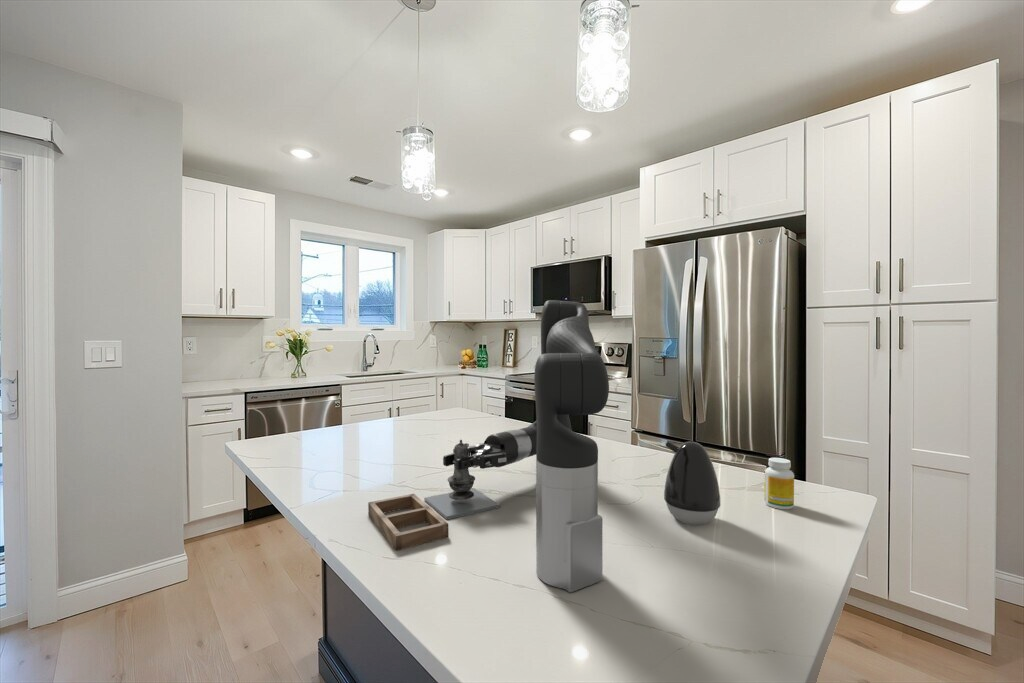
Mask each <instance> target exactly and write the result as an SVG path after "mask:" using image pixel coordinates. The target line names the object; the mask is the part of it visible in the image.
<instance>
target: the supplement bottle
mask: <svg viewBox="0 0 1024 683" xmlns="http://www.w3.org/2000/svg"><path fill="white" fill-rule="evenodd" d="M791 465H792V464H791V460H790V459H786V458H783V457H770V458H769V457H768V466H769V467H767V468H765V469H764V490H763V492H764V493H763V494H764V495H763V496H764V499H763V501H764V503H765V505H766V506H768V507H771V508H774V509H778V510H783V511H785V510H791V509H793V508H794V506H795V503H794V502H795V473H794V472H793V471H792V470H790V469H791V467H792V466H791Z"/></svg>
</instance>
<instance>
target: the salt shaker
mask: <svg viewBox="0 0 1024 683" xmlns="http://www.w3.org/2000/svg"><path fill="white" fill-rule="evenodd" d="M453 449H454V460H453V463H454V464H453V474H452V475H451V476H449V477H448V478H447V482H448V485H449V487H450V489H451V490H452V493H451V492H449V493H450V495H449V497H450V498H452V499H455V500H465V499H469V498H472V497H473V496H474V493H473V492H471V491H470V489H471V488H473V486H474V484H475V481H476V477H475V476H474V475H472V474H470V470H469V468H466V469H463V470H457V469H456V460H457V459H460V458H463V457H467V456H468V447H467V445H466V444H465V443H463V440H462V439H460V440H459V441H458V443H457V444H455V445H454V447H453Z"/></svg>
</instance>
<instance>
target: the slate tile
mask: <svg viewBox="0 0 1024 683" xmlns="http://www.w3.org/2000/svg"><path fill="white" fill-rule="evenodd" d="M470 491H471V492H473V493H474V496H473V497H472V498H469V499H465V500H455V499H452V498H450V497H449V495H450V493H452V492H453V491H452V492H447V493H442V494H435V495H432V496H427V497H424V498H423V501H424V500H425V501H426V502H425V501H424V502H425V503H426V504H427V505H428V506H429V507H430V508H432V507H433V508H432V509H433V510H434V511H435V512H436V513H437V514H438V515H439V516H440V515H441V516H442V518H443V519H444V520H445V521H446V520H450V519H451V518H452V519H456V518H460V517H464V516H469V515H473V514H477V513H480V512H486V511H490V510H494V509H498V508H501V504H500V503H498V502H497V501H495V500H494V499H492V498H490V497H489V496H487V495H486V494H484V493H482V492H481V491H480V490H477V489H476V488H475V487H472V488H471V489H470ZM452 519H451V520H452Z"/></svg>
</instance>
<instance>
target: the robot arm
mask: <svg viewBox="0 0 1024 683" xmlns="http://www.w3.org/2000/svg"><path fill="white" fill-rule="evenodd" d="M542 306H543V307H542V309H541V316H540V317H541V318H540V355H539V356H538V357H537V359H536V362H535V365H534V378H533V379H534V380H533V382H534V398H535V414H536V416H535V417H536V420H535V421H534V422H533V423H531V424H529V425H528V426H527V427H522V428H519V429H510V430H506V431H505V430H504V431H502V432H500V431H499V432H497V433H492V434H490V435H488V436H487V437H486V438H485V440H484V441H483V442H482V443H481V442H480V443H476V444H475V445H474V444H473V445H470V444H469V443H467V442H466V443H464V444H466V445H467V447H468V456H467V457H463V458H460V459H457V460H456V469H457V470H463V469H466V468H468V469H469V468H474V469H475V468H478V467H479V469H480V470H482V469H483V470H484V469H490V468H501V467H506V466H507V465H510V464H514V463H517V462H520V461H522V460H524V459H526V458H530V457H533V456H535V462H536V463H535V464H536V465H535V466H536V467H535V468H536V470H535V472H536V474H535V477H536V478H535V480H536V482H535V490H536V491H535V494H536V495H535V499H536V500H535V506H536V507H535V512H536V513H535V514H536V516H535V519H536V520H535V522H536V524H535V526H536V527H535V529H536V532H535V533H536V534H535V536H536V537H535V539H536V540H535V547H536V549H535V550H536V560H535V561H536V565H535V566H536V576H537V577H538V578H539V579H540V581H542V582H543V583H545V584H547V585H549V586H552V587H555V588H559V589H563V590H566V591H567V592H569V593H573V592H575V591H578V590H581V589H583V588H587V587H589V586H592V585H594V584H596V583H599V582H602V581H603V516H602V515H600V514H599V507H598V506H599V505H598V502H599V498H598V497H599V493H598V492H599V488H598V483H599V482H598V481H599V469H598V468H599V464H598V463H599V447H598V443H597V442H596V441H595V440H594V439H593V438H591V437H589V436H587V435H583V434H581V433H579V432H575V431H574V430H572V424H571V419H570V416H589V415H595V414H598V413H600V412H601V411H603V409H604V408H605V407H606V405H607V402H608V399H609V395H610V394H609V392H610V382H609V381H610V380H609V375H608V371H607V366H606V364H605V362H604V359H603V357H602V356H601V355H600V353H599V352H598V350H597V349H596V345H595V340H594V336H593V333H592V331H591V329H590V322H589V321H590V320H589V314H588V313H589V312H588V309H587V306H586V305H585V304H583V303H582V302H579V301H570V300H569V301H568V300H554V299H549V300H546V301H545V302H544V305H542ZM442 460H443V461H442V465H443V466H444V467H449V466H454V463H453V460H454V448H453V450H452V453H448V454H445V455H443V457H442Z"/></svg>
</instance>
